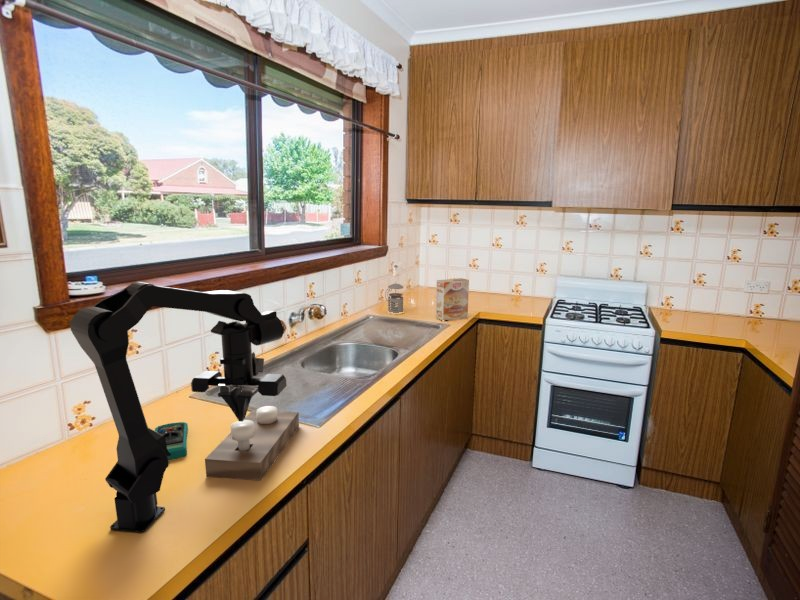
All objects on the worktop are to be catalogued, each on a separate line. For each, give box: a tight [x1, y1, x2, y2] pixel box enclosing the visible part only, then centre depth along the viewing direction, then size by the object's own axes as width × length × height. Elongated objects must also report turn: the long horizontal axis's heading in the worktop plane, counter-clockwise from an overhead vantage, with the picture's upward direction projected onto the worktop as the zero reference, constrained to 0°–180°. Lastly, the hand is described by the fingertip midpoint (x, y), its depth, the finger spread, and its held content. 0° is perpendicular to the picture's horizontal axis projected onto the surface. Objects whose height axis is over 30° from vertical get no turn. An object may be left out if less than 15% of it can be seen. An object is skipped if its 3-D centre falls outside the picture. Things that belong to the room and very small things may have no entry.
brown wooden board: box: [204, 409, 300, 481], centre depth 109 cm, size 24×12×4 cm, turn 173°
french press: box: [384, 264, 404, 313], centre depth 244 cm, size 10×12×25 cm
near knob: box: [230, 420, 255, 451], centre depth 102 cm, size 5×5×7 cm
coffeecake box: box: [435, 277, 470, 322], centre depth 231 cm, size 15×7×20 cm, turn 119°
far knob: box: [256, 405, 278, 424], centre depth 115 cm, size 5×5×7 cm
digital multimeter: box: [154, 421, 189, 461], centre depth 111 cm, size 7×15×3 cm, turn 23°
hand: (241, 420), depth 101 cm, fingers closed
